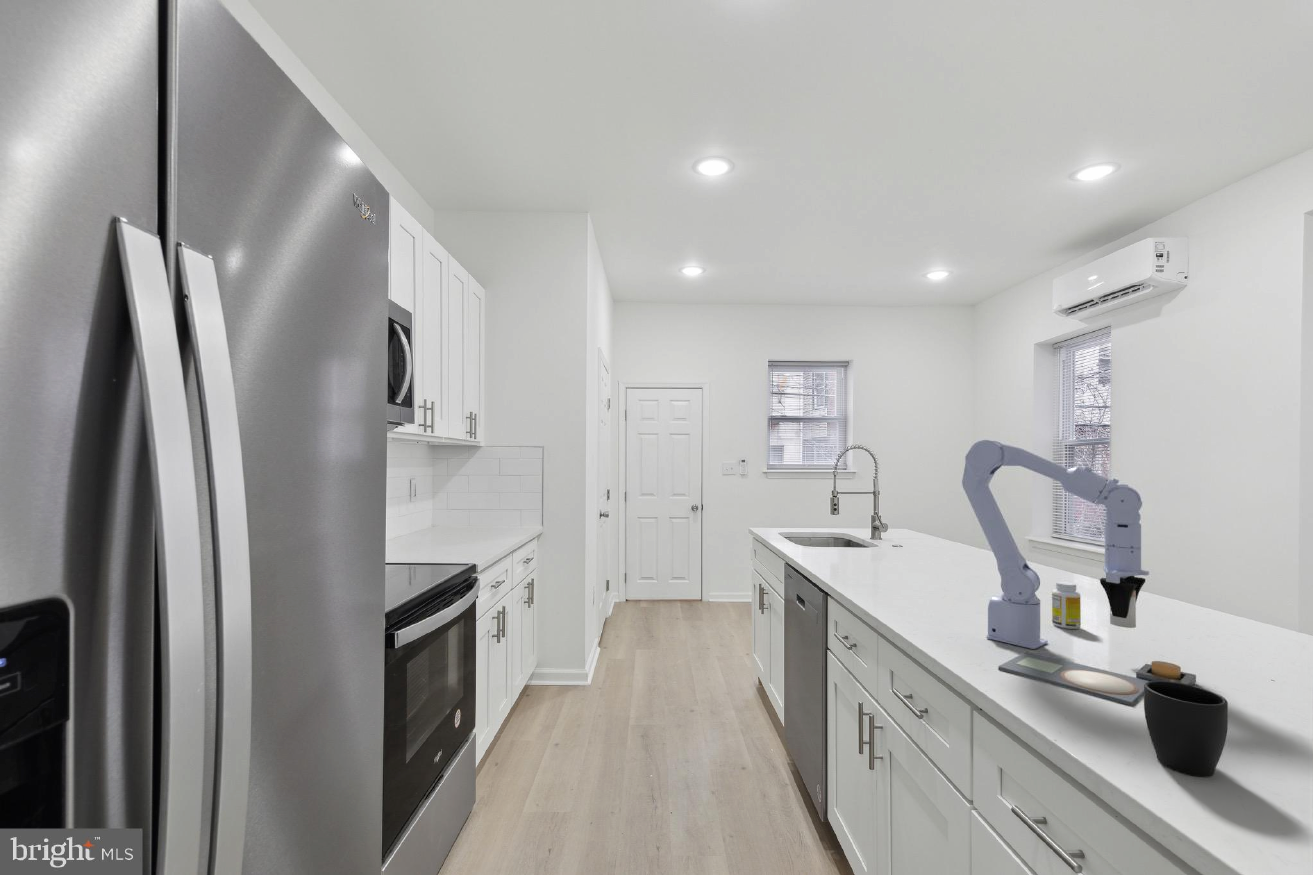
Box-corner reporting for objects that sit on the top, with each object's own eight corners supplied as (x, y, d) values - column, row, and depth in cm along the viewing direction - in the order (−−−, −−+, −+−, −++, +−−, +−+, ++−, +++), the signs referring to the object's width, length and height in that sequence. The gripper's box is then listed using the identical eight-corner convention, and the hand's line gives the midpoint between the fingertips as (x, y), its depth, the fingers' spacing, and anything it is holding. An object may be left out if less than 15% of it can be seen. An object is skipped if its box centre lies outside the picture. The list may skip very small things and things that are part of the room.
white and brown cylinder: (1107, 624, 119) (1107, 588, 119) (1113, 620, 121) (1113, 586, 121) (1132, 629, 116) (1132, 592, 116) (1138, 625, 118) (1138, 589, 118)
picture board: (998, 669, 112) (998, 665, 112) (1026, 654, 121) (1026, 650, 121) (1131, 705, 96) (1131, 700, 96) (1153, 685, 105) (1153, 680, 105)
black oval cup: (1218, 751, 82) (1218, 681, 82) (1233, 790, 72) (1233, 711, 72) (1141, 734, 87) (1141, 667, 87) (1145, 768, 77) (1145, 693, 77)
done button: (1148, 674, 107) (1148, 664, 107) (1154, 669, 110) (1154, 659, 110) (1178, 681, 104) (1177, 670, 104) (1183, 675, 107) (1182, 665, 107)
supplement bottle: (1083, 627, 141) (1083, 583, 141) (1076, 631, 137) (1076, 586, 138) (1056, 621, 145) (1056, 579, 145) (1048, 625, 142) (1048, 582, 142)
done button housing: (1136, 680, 108) (1136, 671, 108) (1146, 671, 112) (1146, 663, 112) (1187, 692, 102) (1187, 684, 102) (1195, 683, 107) (1195, 674, 107)
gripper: (1138, 552, 111) (1138, 626, 111) (1157, 545, 120) (1157, 613, 120) (1092, 547, 116) (1092, 617, 116) (1114, 541, 126) (1114, 606, 125)
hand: (1122, 614), depth 118 cm, fingers closed on white and brown cylinder, 4 cm apart
